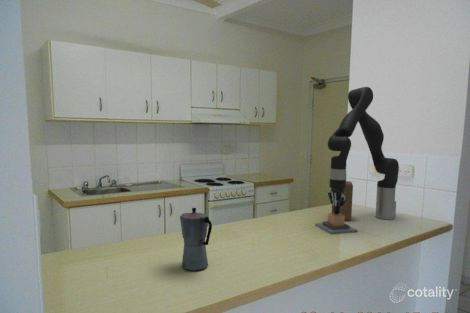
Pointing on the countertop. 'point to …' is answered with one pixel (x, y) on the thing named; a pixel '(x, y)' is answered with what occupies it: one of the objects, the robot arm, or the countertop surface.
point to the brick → (336, 219)
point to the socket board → (335, 228)
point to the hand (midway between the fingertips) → (336, 213)
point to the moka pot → (195, 239)
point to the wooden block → (347, 202)
